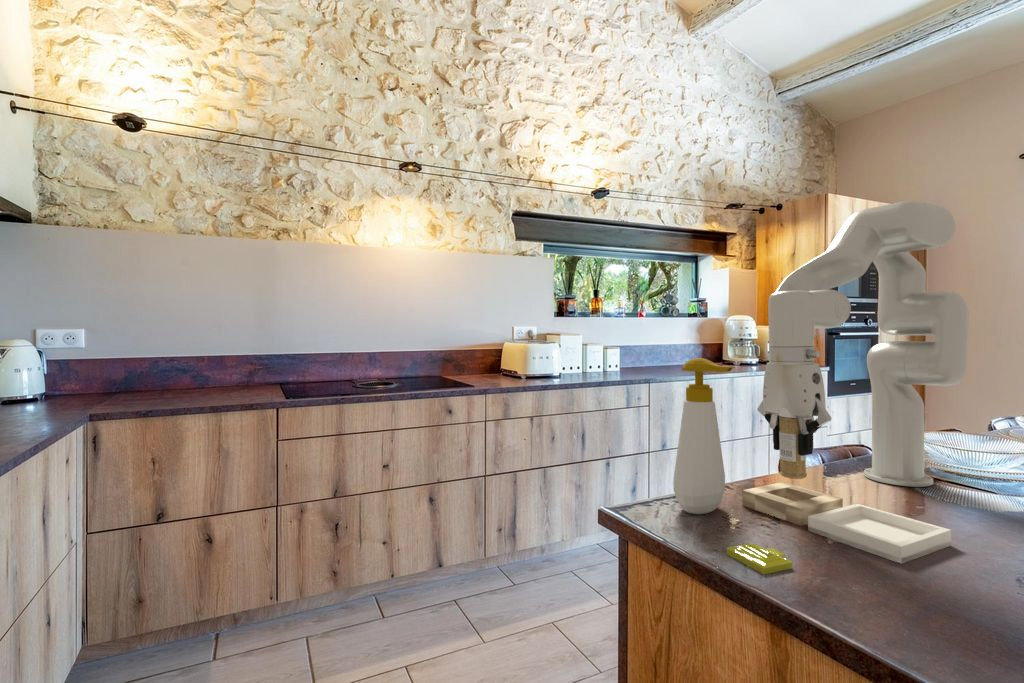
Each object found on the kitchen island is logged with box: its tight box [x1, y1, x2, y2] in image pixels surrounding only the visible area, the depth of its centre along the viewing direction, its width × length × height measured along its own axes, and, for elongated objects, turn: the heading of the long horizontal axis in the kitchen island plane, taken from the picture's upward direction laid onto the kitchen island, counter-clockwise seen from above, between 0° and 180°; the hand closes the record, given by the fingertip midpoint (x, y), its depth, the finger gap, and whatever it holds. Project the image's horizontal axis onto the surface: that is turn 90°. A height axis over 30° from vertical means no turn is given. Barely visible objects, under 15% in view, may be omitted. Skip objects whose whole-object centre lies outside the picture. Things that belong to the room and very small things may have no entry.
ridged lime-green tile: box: [726, 542, 794, 575], centre depth 75 cm, size 10×9×3 cm
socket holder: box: [741, 481, 844, 527], centre depth 96 cm, size 12×12×3 cm
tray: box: [807, 503, 952, 565], centre depth 83 cm, size 14×14×2 cm
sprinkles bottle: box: [778, 408, 808, 480], centre depth 96 cm, size 5×5×13 cm
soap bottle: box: [672, 357, 733, 515], centre depth 96 cm, size 13×10×29 cm
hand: (792, 450), depth 96 cm, fingers closed on sprinkles bottle, 4 cm apart
